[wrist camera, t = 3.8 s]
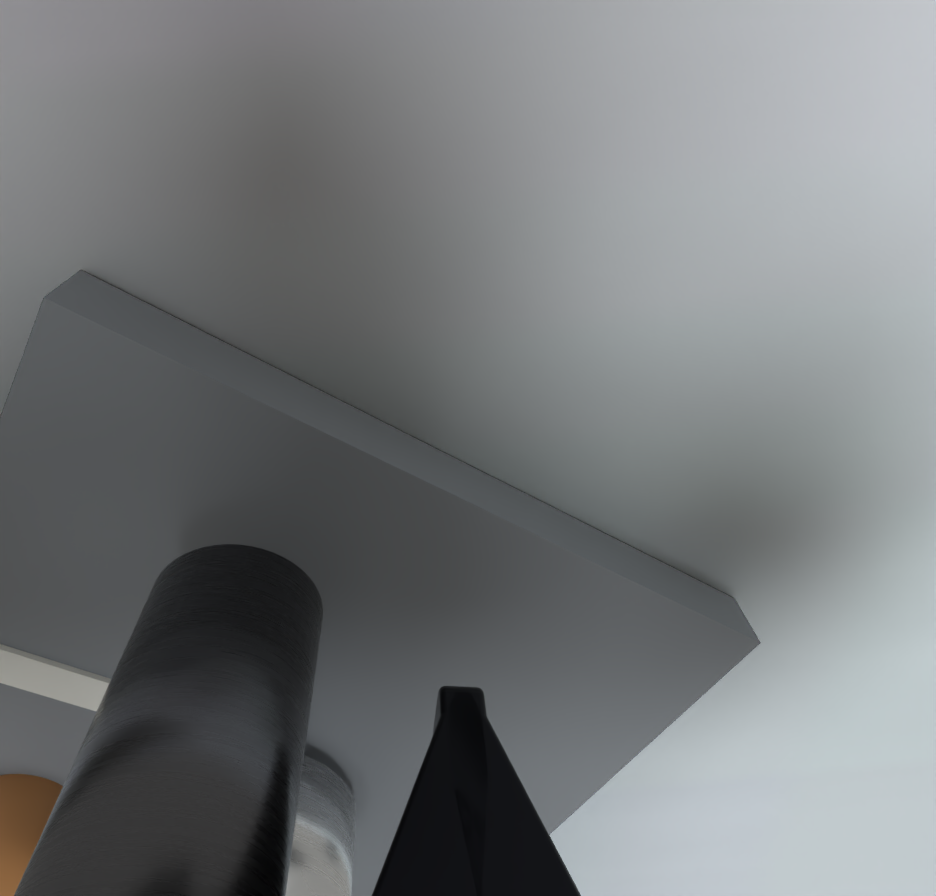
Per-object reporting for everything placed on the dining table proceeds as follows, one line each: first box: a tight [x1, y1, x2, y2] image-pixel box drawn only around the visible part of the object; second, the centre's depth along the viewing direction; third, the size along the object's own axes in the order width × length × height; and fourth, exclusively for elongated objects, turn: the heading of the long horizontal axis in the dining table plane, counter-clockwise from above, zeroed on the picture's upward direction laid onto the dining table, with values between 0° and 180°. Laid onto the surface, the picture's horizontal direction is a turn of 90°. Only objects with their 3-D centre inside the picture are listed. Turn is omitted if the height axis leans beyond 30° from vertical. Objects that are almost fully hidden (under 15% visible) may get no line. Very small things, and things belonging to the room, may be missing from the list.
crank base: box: [0, 270, 760, 896], centre depth 14 cm, size 16×13×4 cm
